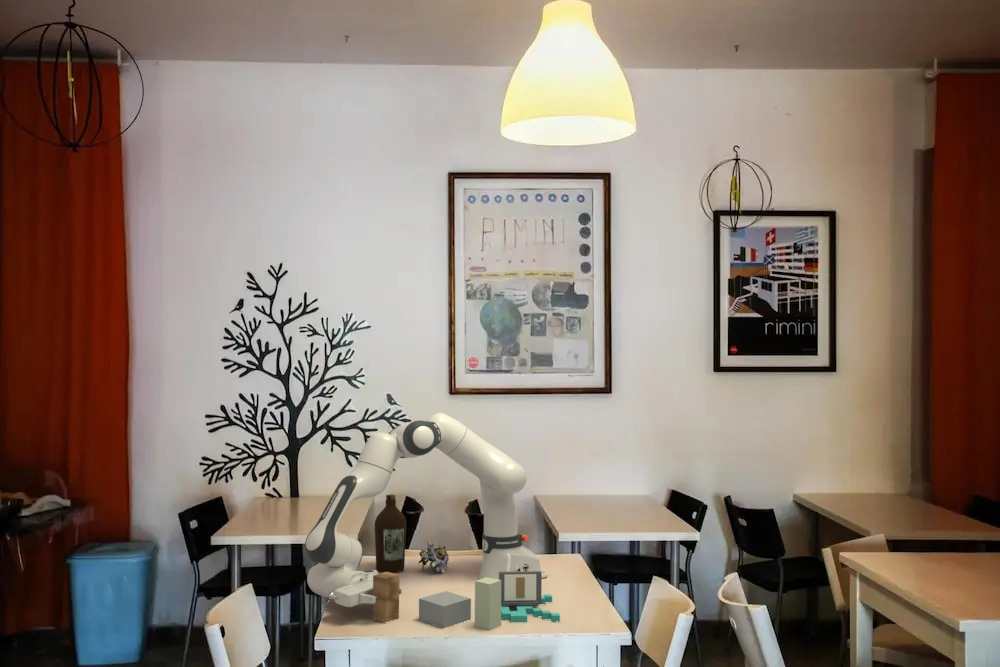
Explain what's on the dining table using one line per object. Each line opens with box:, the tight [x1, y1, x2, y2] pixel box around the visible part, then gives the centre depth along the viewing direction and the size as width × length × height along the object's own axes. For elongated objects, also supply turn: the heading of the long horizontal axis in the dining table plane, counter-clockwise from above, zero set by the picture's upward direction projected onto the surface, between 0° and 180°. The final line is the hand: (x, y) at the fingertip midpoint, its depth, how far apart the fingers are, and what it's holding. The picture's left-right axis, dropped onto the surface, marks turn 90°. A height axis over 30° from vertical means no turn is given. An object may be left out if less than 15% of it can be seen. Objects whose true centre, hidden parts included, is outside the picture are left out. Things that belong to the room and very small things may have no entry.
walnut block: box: [372, 572, 400, 623], centre depth 227 cm, size 5×5×12 cm
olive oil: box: [374, 493, 407, 574], centre depth 279 cm, size 11×11×25 cm
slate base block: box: [418, 590, 472, 629], centre depth 227 cm, size 10×10×6 cm
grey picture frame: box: [499, 571, 543, 606], centre depth 236 cm, size 12×5×9 cm, turn 94°
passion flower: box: [418, 540, 450, 574], centre depth 278 cm, size 11×11×12 cm
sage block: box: [474, 577, 502, 631], centre depth 222 cm, size 5×5×12 cm
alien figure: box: [501, 594, 561, 623], centre depth 235 cm, size 20×2×20 cm
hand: (388, 595), depth 227 cm, fingers open, 8 cm apart
